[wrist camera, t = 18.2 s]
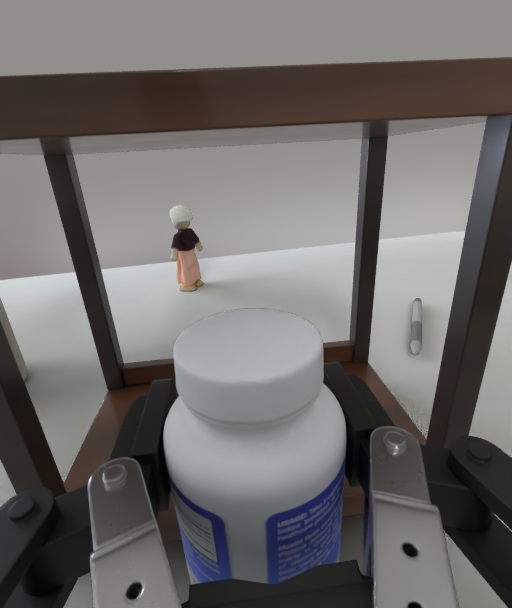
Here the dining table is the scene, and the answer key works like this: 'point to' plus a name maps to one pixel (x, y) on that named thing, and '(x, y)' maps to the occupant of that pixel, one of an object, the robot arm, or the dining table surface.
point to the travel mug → (12, 342)
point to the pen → (416, 327)
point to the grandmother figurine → (185, 249)
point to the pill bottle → (255, 448)
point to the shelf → (250, 131)
